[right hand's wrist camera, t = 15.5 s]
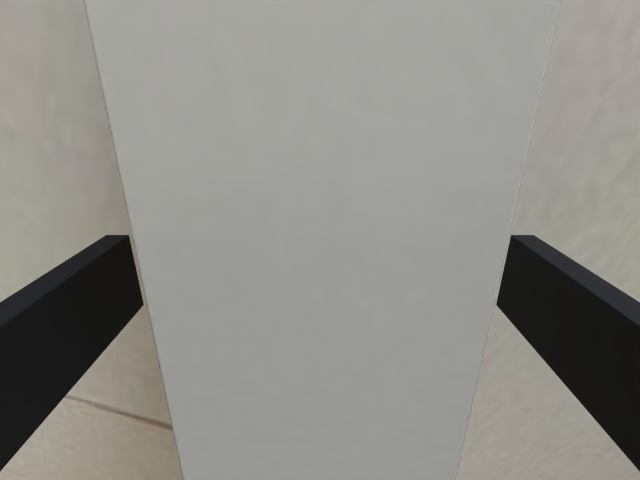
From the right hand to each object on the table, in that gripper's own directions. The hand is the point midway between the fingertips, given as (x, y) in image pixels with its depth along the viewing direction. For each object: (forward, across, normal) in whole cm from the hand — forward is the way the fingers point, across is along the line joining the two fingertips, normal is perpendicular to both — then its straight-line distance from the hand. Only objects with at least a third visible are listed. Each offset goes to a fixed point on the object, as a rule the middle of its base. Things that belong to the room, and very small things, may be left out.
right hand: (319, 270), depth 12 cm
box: (+4, 0, -8) cm, 9 cm away
